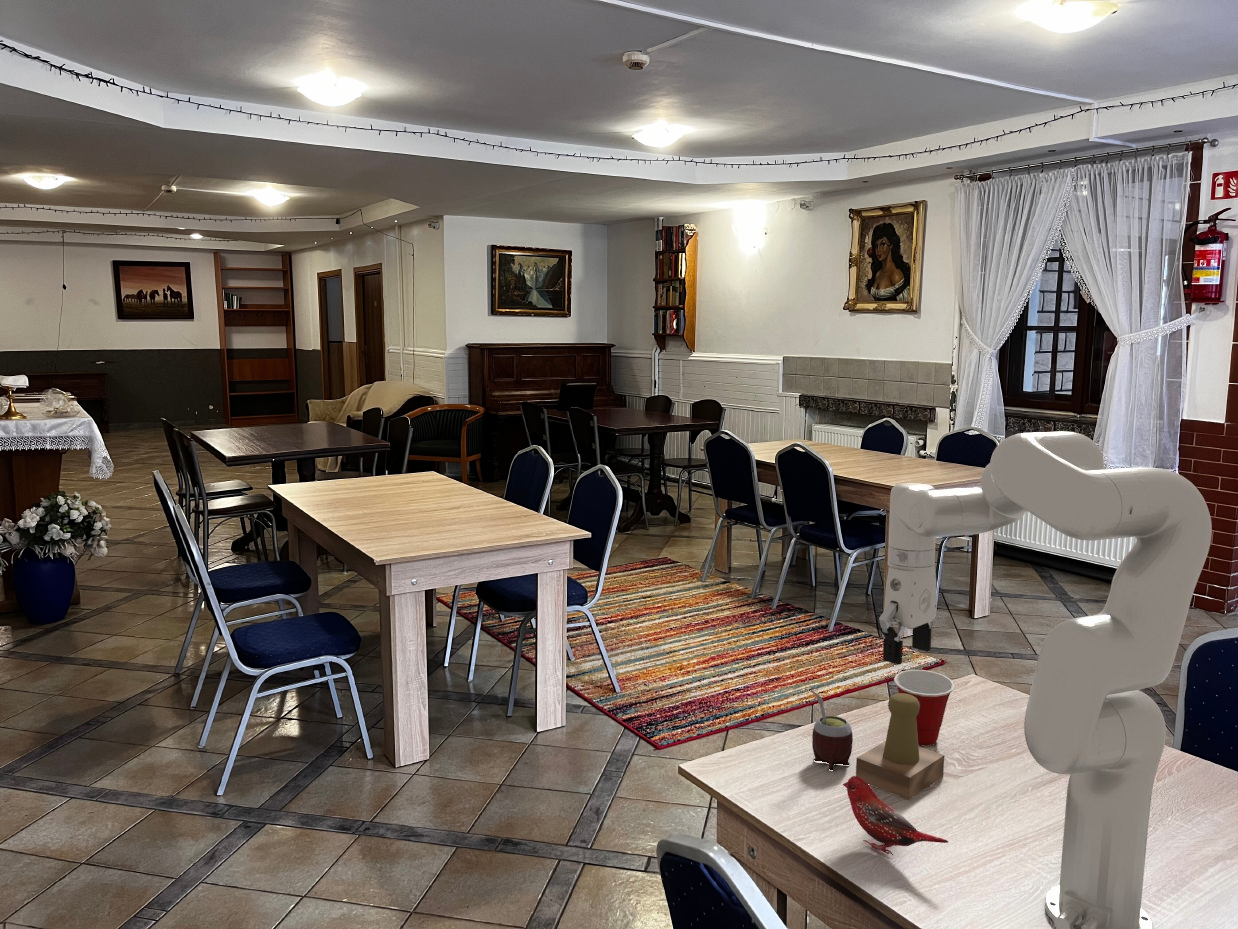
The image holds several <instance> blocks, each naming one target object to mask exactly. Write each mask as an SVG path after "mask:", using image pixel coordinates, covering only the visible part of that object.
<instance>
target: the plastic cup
mask: <svg viewBox="0 0 1238 929" xmlns="http://www.w3.org/2000/svg"><path fill="white" fill-rule="evenodd" d="M893 680H894V682H895V683H894V684H895V685H896V687H897V692H898V693H904V694H909V695H912V696H914V697H915V698H917V700H918V701H919V704H920V710H919V713H918V715H917V716H916V724H917V735H918V746H921V745H923V747H929V746H934V745H936V744H937V741H938V738H939V735H940V730H941V727H942V723H943V720H944V716H945V712H946V708H947V703H948V700H949V697H950V695H951V694H952V693H953V690H954V688H955V684H954V682H953V680H952V679H950V678H949V677H948V676H946V675H944V674H942V673H941V674H940V673H938V672H936V671H932V670H931V671H930V670H924V669H909V670H903V671H901V672H899V673H896V675H895V677H894V678H893ZM898 693H897V694H898ZM933 744H934V745H933Z"/></svg>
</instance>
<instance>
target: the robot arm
mask: <svg viewBox="0 0 1238 929" xmlns="http://www.w3.org/2000/svg"><path fill="white" fill-rule="evenodd" d="M1104 463H1105V462H1104V455H1103V453H1102V450H1101V448H1100V447H1099V446H1098V444H1097V443H1096V442H1095V440H1092V439H1091V438H1089V437H1088V436H1086V435H1084V434H1082V433H1078V432H1073V431H1061V430H1060V431H1046V432H1045V431H1044V432H1041V431H1039V432H1023V433H1020V432H1019V433H1016V434H1013V435H1010V436H1008V437H1006V438H1004V439H1003V440H1001V441H1000V442H999V443H998V445H997V446H996V447H995V448H994V450H993V452H992V455H991V458H990V462H989V463H988V464H987V465H986V466H985V467H984V469H983V471H982V473H981V477H980V485H978V486H975V487H959V488H958V487H957V488H944V489H936V488H935V487H934V486H932V485H930V484H926V483H917V482H906V483H905V482H903V483H902V482H901V483H897V484H895V485H894V486H893V487H892V488H891V491H890V497H889V516H888V517H889V520H888V523H889V524H888V546H887V547H888V549H887V566H888V570H887V577H886V584H885V592H884V609H883V612H882V613H881V614H880V616H879V618H878V620H879V625H880V632H881V633H882V634H881V635H882V636H881V637H882V639H883V647H882V648H883V649H882V650H883V651H882V652H883V653H882V660H883V661H884V662H888V663H892V664H895V665H902V664H903V644H904V641H903V640H901V639H902V637H903V635H904V631H905V629H908V630H912V637H911V638H912V639H911V640H912V642H911V647H912V648H914V649H916V650H920V651H924V652H929V651H931V648H932V646H931V644H932V628H933V627H934V622H933V620H935V618H936V617H937V608H938V606H937V604H938V597H937V594H938V593H937V590H938V589H937V575H936V568H935V564H936V563H935V562H936V561H935V560H936V542H937V541H936V540H937V538H945V537H955V536H957V537H958V536H966V535H968V536H969V535H981V534H985V533H988V532H992V531H995V530H997V529H1000V528H1004V527H1006V526H1010V525H1011V524H1014V523H1016V522H1018V521H1019V520H1021V519H1022V517H1023V516H1024V515H1025V513H1026V512H1028V513H1030V514H1031V515H1033V517H1034V516H1035V517H1036V518H1037V519H1038V520H1040V521H1042V522H1043V523H1045V524H1047V525H1048V526H1049V527H1051V528H1052V529H1054V530H1055V531H1057V532H1059V533H1061V534H1062V535H1064V536H1067V537H1069V538H1071V539H1075V540H1079V541H1087V542H1088V541H1089V542H1091V541H1092V542H1093V541H1094V542H1095V541H1101V540H1102V541H1103V540H1112V539H1113V540H1115V539H1125V538H1126V539H1127V538H1135V540H1136V542H1135V543H1134V545H1133V547H1131V549H1130V550H1129V552H1127V553H1126V555H1125V556H1124V557H1123V559H1122V561H1121V562H1120V564H1119V565H1118V566H1117V568H1116V571H1115V573H1114V575H1113V577H1112V581H1111V584H1110V590H1109V593H1108V596H1107V599H1106V603H1105V605H1104V607H1103V609H1102V610H1101V611H1100V612H1098V613H1097V614H1094V615H1088V616H1081V617H1080V616H1079V617H1074V618H1070V619H1067V620H1064V621H1062V622H1060V623H1059V624H1057V625H1056V626H1054V627H1053V628H1052V629H1051V631H1049V633H1047V635H1046V637H1045V638H1044V641H1043V642H1042V644H1041V648H1040V650H1039V654H1038V656H1037V657H1038V658H1037V662H1036V666H1035V671H1034V675H1033V679H1032V684H1031V687H1030V692H1029V696H1028V701H1027V704H1026V709H1025V715H1024V725H1023V726H1024V727H1023V728H1024V729H1023V730H1024V738H1025V742H1026V746H1027V748H1028V750H1029V753H1030V755H1031V756H1032V758H1033V759H1034V760H1035V761H1036V763H1037V764H1038V765H1039V766H1040V767H1042V768H1043V769H1045V770H1047V771H1048V772H1051V773H1054V774H1058V775H1069V777H1068V783H1067V788H1066V798H1065V800H1066V801H1065V812H1064V825H1063V837H1062V838H1063V839H1062V850H1061V861H1060V862H1061V865H1060V874H1059V875H1060V877H1059V885H1057V886H1055V887H1053V888H1051V889H1049V891H1048V892H1047V893H1046V895H1045V902H1044V907H1045V912H1046V914H1047V915H1048V917H1049V918H1050V919H1051V920H1052V922H1053V923H1054V927H1055V928H1056V929H1154V924H1153V920H1152V919H1151V916H1149V915H1148V913H1147V912H1146V911H1145V910H1144V909H1143V908H1142V899H1143V898H1142V897H1143V887H1144V878H1145V877H1144V876H1145V865H1146V854H1147V845H1148V832H1149V821H1150V815H1151V814H1150V813H1151V804H1152V802H1151V801H1152V795H1153V788H1154V782H1155V778H1156V774H1157V770H1158V769H1159V764H1160V762H1161V758H1162V756H1163V751H1164V748H1165V744H1166V738H1167V726H1166V721H1165V718H1164V714H1163V713H1162V710H1161V709H1160V707H1159V706H1158V705H1157V703H1156V701H1154V699H1153V698H1152V697H1150V696H1149V695H1148V694H1146V693H1145V692H1143V691H1141V690H1144V689H1147V688H1148V689H1149V688H1152V687H1155V686H1157V685H1160V684H1162V683H1163V682H1164V681H1165V680H1166V679H1167V678H1168V676H1169V674H1170V672H1171V671H1172V668H1173V665H1174V663H1175V659H1176V656H1177V652H1178V649H1179V645H1180V642H1181V637H1182V634H1183V631H1184V628H1185V624H1186V620H1187V617H1188V613H1189V610H1190V605H1191V602H1192V599H1193V595H1194V592H1195V588H1196V586H1197V583H1198V581H1199V578H1200V575H1201V573H1202V571H1203V568H1204V565H1205V562H1206V561H1207V560H1206V559H1207V558H1208V554H1209V552H1210V547H1211V543H1212V542H1211V541H1212V534H1213V531H1212V530H1213V529H1212V526H1213V525H1212V518H1211V515H1210V511H1209V508H1208V505H1207V503H1206V501H1205V498H1204V496H1203V495H1202V494H1201V492H1200V491H1199V489H1198V488H1197V487H1196V486H1195V485H1194V484H1193V483H1192V482H1191V481H1190V480H1189V479H1187V478H1186V477H1184V476H1183V475H1181V474H1179V473H1177V472H1174V471H1172V470H1168V469H1165V468H1157V467H1123V468H1112V469H1109V468H1108V469H1103V468H1104ZM894 628H897V630H895V629H894Z"/></svg>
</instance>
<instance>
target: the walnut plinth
mask: <svg viewBox="0 0 1238 929" xmlns="http://www.w3.org/2000/svg"><path fill="white" fill-rule="evenodd" d="M885 743H886V740H885V741H883V742H881V743H880V744H877V745H876V746H874V747H873V748H871V749H869V750H867V751H866V752H864V753H862V754H861V755H858V756H857V757H856V762H855V763H856V765H855V776H858V777H860V778H861V779H863V780H864V781H865V782H866V783H867V784H870V785H869V786H871V785H872V787H873V786H874V788H876V787H877V788H876V789H879V790H881V791H884V792H886V793H889V794H892V795H893V796H897V797H899V798H902V799H904V800H907V801H910V800H912V799H913V798H914V797H916V796H917V795H920V794H921V792H923V791H925V790H926V789H928V788H929V787H931V786H933V784H935V783H937V782H938V781H939V780H941V779H942V778H944V768H945V766H944V765H945V754H942V753H939V752H937V751H934V750H931V749H928V748H925V747H921V746H920V745H918V747H919V762H917V763H915V764H911V765H902V764H896V763H893V762H891V761H889V760H887V759H886V758H884V756H883V753H884V748H885Z"/></svg>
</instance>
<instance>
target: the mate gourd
mask: <svg viewBox="0 0 1238 929" xmlns="http://www.w3.org/2000/svg"><path fill="white" fill-rule="evenodd" d="M810 692H811V693H812V694H813V695H814V696H816V698H817V701H818V704H819V707H820V711H821V712H820V713H821V717H819V718H818V719H817V720H816V721H815V723H814V724H813V725H814V726H813V728H812V734H811V735H812V737H811V738H812V740H811V741H812V745H811V746H812V750H813V755H814V758H813V761H814V760H815V761H822V762H827V763H829V765H828V770H829V769H830V770H833V771H834V767H835V765H834V764H843V765H849V766H850V762H849V760H850V757H851V754H852V752H853V751H852V750H853V741H854V740H853V739H854V738H853V737H854V736H853V731H852V726H851V725H850V723H849V722H848V721H847V720H846V719H845V718H843V717H840V716H836V715H826V711H825V708H824V700H823V698H822V697H821V696H820V694H818V693H817V692H816V691H814V690H810Z"/></svg>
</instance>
